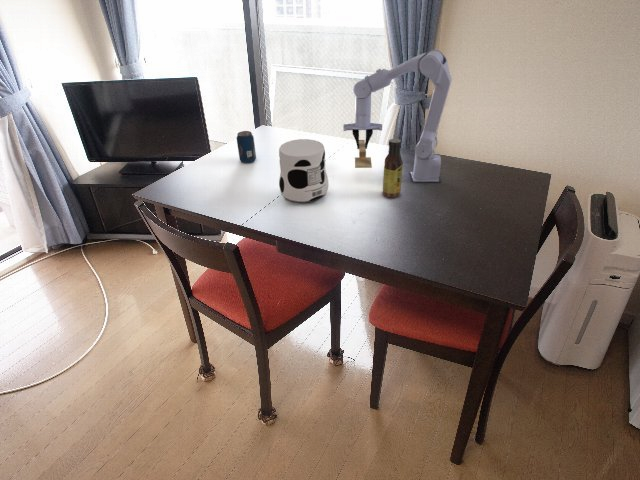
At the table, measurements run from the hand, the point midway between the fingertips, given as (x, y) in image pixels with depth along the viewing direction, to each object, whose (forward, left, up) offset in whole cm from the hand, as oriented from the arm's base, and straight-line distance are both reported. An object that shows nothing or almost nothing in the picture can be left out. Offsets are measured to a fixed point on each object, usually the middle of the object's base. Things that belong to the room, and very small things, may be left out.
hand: (362, 148), depth 163 cm
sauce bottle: (-10, +22, -9) cm, 26 cm away
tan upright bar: (0, +5, -1) cm, 5 cm away
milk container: (+21, +22, -8) cm, 32 cm away
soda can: (+47, -8, -8) cm, 49 cm away
